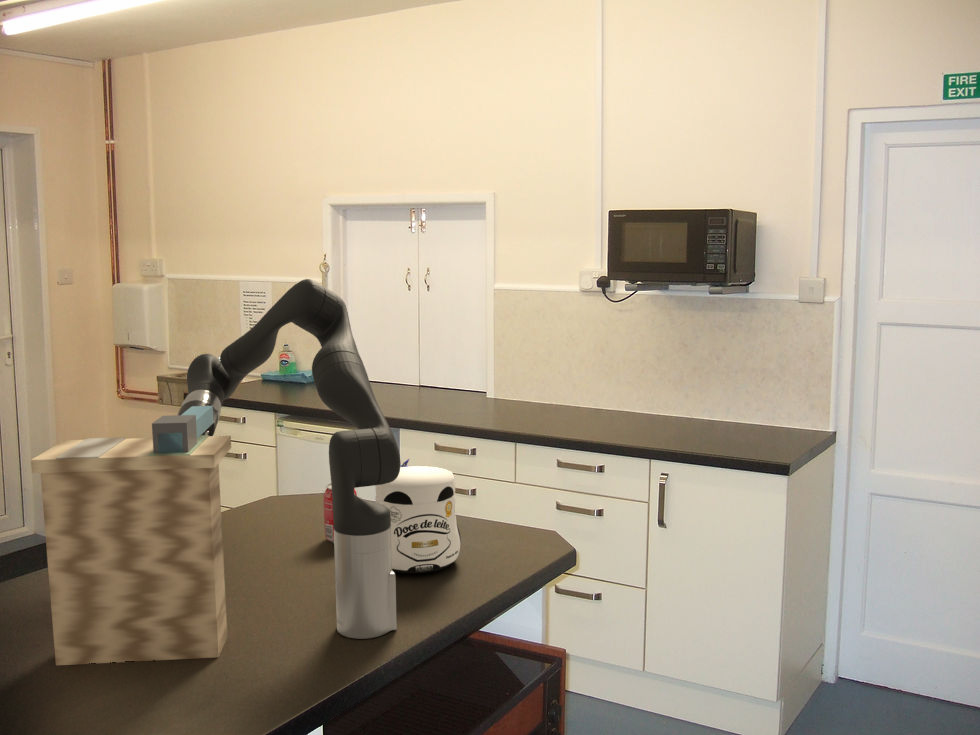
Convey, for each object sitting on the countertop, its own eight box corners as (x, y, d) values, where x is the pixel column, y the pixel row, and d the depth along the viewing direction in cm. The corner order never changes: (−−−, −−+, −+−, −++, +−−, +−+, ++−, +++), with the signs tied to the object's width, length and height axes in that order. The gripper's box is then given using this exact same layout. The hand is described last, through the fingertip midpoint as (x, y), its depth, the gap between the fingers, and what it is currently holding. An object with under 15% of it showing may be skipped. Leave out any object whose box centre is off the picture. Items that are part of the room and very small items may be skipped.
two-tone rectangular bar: (218, 422, 154) (216, 397, 153) (188, 452, 132) (186, 422, 132) (188, 423, 154) (186, 397, 153) (153, 453, 132) (151, 423, 131)
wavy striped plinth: (239, 622, 149) (230, 434, 144) (224, 658, 136) (213, 453, 132) (78, 630, 146) (64, 439, 142) (47, 667, 134) (30, 458, 129)
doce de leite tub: (420, 588, 163) (418, 493, 161) (354, 567, 174) (351, 478, 171) (478, 561, 177) (477, 473, 175) (413, 543, 187) (412, 460, 185)
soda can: (363, 535, 193) (362, 482, 191) (349, 546, 186) (348, 490, 184) (333, 533, 195) (332, 479, 193) (319, 543, 188) (317, 488, 186)
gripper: (235, 400, 172) (222, 445, 158) (195, 450, 176) (178, 498, 162) (202, 380, 170) (185, 423, 155) (161, 431, 174) (141, 478, 159)
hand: (181, 461), depth 159 cm, fingers open, 8 cm apart
